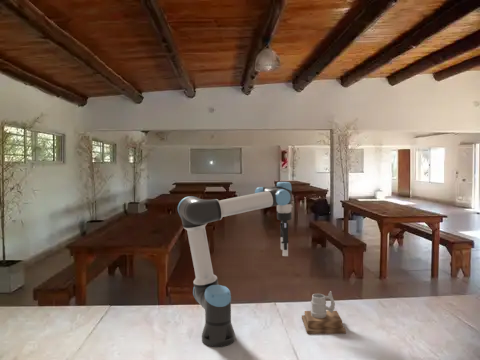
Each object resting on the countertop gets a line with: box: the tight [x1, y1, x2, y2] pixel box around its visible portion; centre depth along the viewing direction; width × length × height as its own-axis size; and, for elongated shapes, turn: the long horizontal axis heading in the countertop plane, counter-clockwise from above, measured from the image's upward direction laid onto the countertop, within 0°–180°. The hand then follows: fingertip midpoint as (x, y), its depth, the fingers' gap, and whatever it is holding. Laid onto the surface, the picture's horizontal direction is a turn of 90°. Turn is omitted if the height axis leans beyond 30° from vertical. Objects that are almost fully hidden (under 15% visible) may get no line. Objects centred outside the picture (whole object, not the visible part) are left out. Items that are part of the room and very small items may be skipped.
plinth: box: [301, 310, 347, 335], centre depth 202 cm, size 18×18×5 cm
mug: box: [310, 290, 336, 318], centre depth 202 cm, size 8×12×12 cm, turn 94°
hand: (284, 252), depth 216 cm, fingers open, 13 cm apart
